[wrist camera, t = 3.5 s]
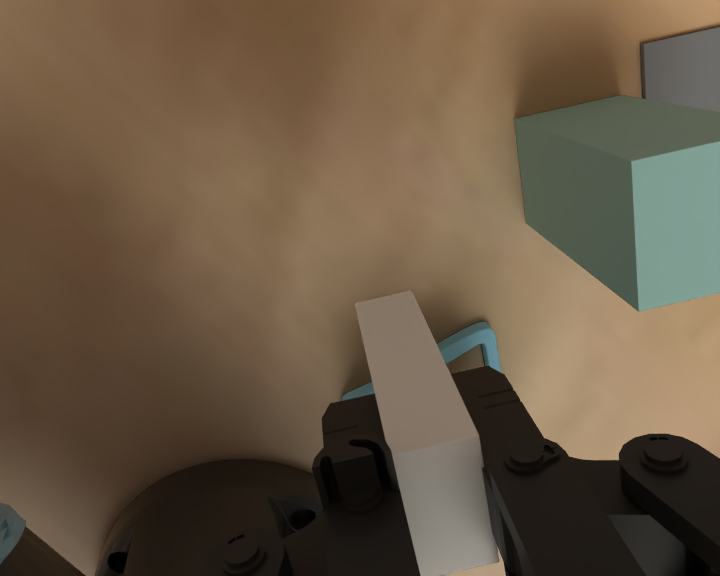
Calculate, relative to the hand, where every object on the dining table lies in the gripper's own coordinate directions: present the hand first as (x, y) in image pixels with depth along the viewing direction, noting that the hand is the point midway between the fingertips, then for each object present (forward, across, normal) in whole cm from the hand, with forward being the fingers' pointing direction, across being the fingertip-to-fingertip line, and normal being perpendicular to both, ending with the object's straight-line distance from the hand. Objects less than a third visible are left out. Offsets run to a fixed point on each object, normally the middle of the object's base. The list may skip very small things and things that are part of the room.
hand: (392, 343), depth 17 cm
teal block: (+15, +11, 0) cm, 18 cm away
